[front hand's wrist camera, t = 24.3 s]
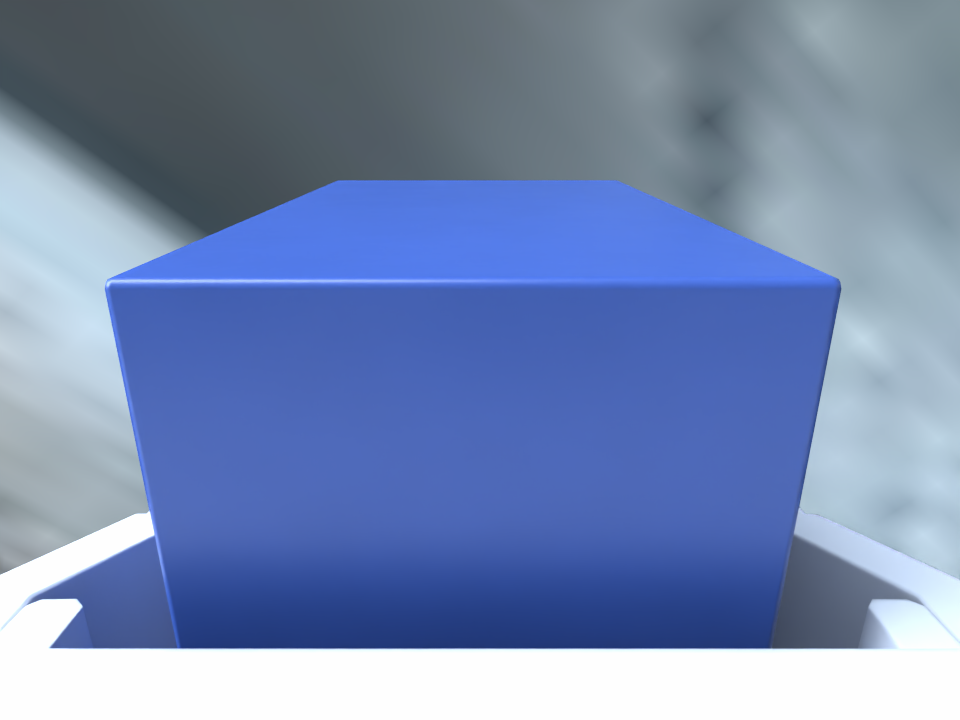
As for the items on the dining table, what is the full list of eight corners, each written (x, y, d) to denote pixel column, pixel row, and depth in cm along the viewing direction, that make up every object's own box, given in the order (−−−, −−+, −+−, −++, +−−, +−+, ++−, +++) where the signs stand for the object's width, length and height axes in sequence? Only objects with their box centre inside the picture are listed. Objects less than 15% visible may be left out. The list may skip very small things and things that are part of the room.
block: (361, 550, 15) (242, 987, 8) (334, 180, 12) (98, 278, 5) (593, 550, 15) (710, 987, 8) (620, 179, 12) (848, 279, 5)
